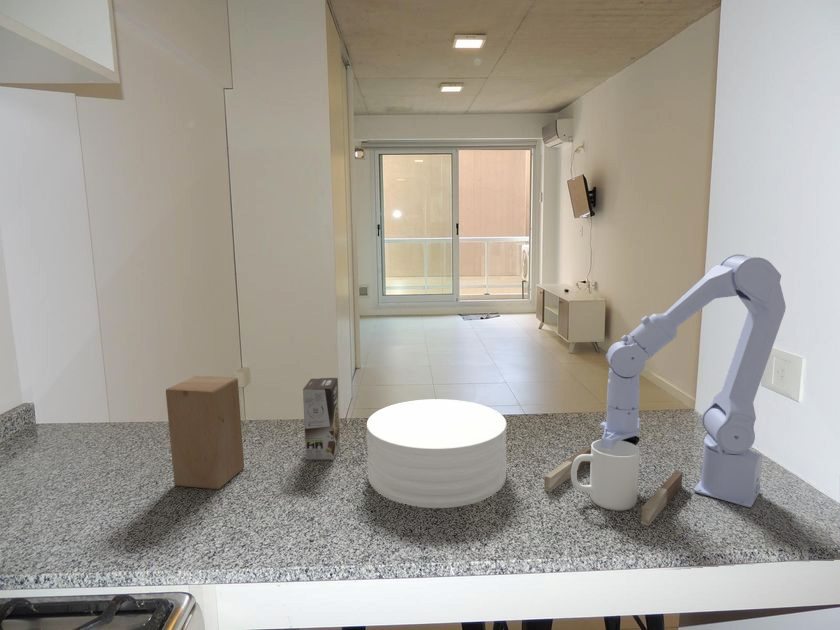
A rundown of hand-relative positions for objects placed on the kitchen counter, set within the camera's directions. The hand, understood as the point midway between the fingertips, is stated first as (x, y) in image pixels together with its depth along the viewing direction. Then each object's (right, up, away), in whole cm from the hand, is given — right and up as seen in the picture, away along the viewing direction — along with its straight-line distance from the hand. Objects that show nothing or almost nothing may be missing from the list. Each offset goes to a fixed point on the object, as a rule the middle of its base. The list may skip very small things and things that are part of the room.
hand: (619, 472), depth 107 cm
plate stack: (-35, -2, +6) cm, 36 cm away
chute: (-2, -3, -2) cm, 4 cm away
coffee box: (-60, -1, +18) cm, 63 cm away
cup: (-5, -4, -6) cm, 8 cm away
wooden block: (-82, -3, +6) cm, 82 cm away
